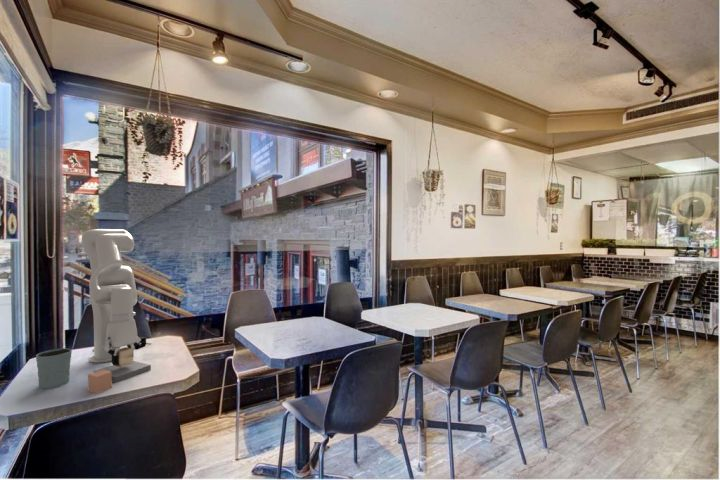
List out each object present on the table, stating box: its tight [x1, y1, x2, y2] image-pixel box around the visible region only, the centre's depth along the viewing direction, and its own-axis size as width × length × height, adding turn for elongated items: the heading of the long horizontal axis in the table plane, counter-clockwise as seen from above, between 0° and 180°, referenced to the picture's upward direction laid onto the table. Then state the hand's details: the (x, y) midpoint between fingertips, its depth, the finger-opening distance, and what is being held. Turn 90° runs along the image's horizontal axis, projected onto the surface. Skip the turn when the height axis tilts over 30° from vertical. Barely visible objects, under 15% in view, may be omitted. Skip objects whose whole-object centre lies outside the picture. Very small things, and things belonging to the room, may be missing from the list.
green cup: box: [35, 347, 73, 390], centre depth 133 cm, size 10×10×12 cm
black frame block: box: [135, 336, 151, 351], centre depth 178 cm, size 12×7×5 cm, turn 166°
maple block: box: [112, 346, 134, 367], centre depth 143 cm, size 5×5×6 cm
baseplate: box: [93, 360, 152, 383], centre depth 143 cm, size 14×14×2 cm
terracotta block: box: [87, 369, 113, 394], centre depth 128 cm, size 5×5×6 cm
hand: (122, 361), depth 143 cm, fingers closed on maple block, 4 cm apart
